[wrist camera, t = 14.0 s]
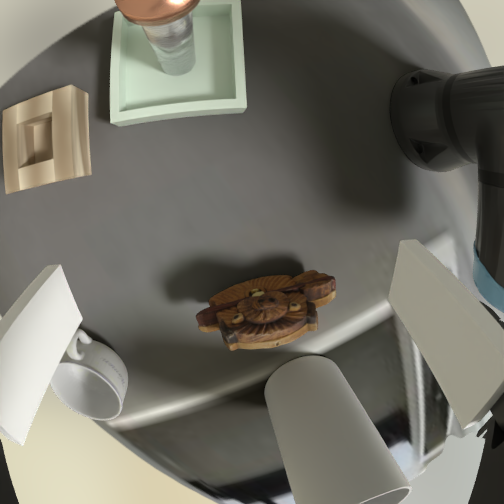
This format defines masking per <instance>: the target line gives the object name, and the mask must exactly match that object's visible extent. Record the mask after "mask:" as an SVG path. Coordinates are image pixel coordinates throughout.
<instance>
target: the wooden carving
mask: <svg viewBox="0 0 504 504" xmlns="http://www.w3.org/2000/svg"><path fill="white" fill-rule="evenodd" d="M335 297H336V282H335V278H334V277H332V276H328V275H327V274H325V273H321V274H319V273H318V272H317V271H315V270H310V271H307V272H304V273H302V274H300V275H298V276H296V277H294V278H292V277H291V276H289V275H274V276H266V277H260V278H257V279H252V280H249V281H246V282H243V283H239V284H236V285H234V286H231V287H229V288H227V289H225V290H223V291H221V292H219V293H218V294H216V295H214V296H213V297H211V298H210V300H209V301H208V302H209V305H210V307H209V308H206V309H204V310H202V311H200V312H199V313H198V314H197V315H196V319H197V321H198V323H199V326H198V327H199V330H201V331H203V332H212V331H217V330H220V331H221V333H222V337H223V340H224V343H225V345H226V346H227V348H228V349H229V350H236V349H238V348H242V349H261V348H273V347H278V346H280V345H283V344H287V343H290V342H292V341H294V340H296V339H297V338H299V337H301V336H302V335H304V334H305V333H306V332H307V331H315V330H317V329H318V315H317V311H316V308H318V307H321V306H323V305H326V304H328V303H329V302H330V301H331V300H332V299H334V298H335Z"/></svg>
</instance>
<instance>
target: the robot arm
mask: <svg viewBox="0 0 504 504" xmlns="http://www.w3.org/2000/svg"><path fill="white" fill-rule="evenodd" d="M390 114H391V121H392V126H393V130H394V133H395V136H396V138H397V140H398V143H399V145H400V146H401V148H402V150H403V151H404V153H405V154H406V155H407V157H408V158H409V159H410V160H411V161H412V162H413V163H415V164H416V165H417V166H419V167H421V168H423V169H425V170H429V171H436V172H447V171H451V170H454V169H456V168H459V167H462V166H465V165H468V164H471V163H475V164H478V213H477V229H476V239H475V241H474V247H473V250H474V264H473V279H474V282H475V284H476V286H477V288H478V290H479V292H480V294H481V295H482V296H483V297H484V298H485V299H486V300H487V301H488V302H489V303H490V304H491V305H492V306H494V307H495V308H497V309H498V310H500V311H502V312H503V313H504V66H498V67H491V68H485V69H480V70H474V71H469V72H464V73H459V74H450V73H445V72H439V71H434V70H427V69H423V70H417V71H414V72H410V73H408V74H406V75H404V76H403V77H401V78H400V79H399V80H398V82H397V83H396V85H395V87H394V89H393V92H392V96H391V103H390ZM388 301H389V303H390V304H391V306H392V307H393V309H394V310H395V312H396V313H397V315H398V316H399V318H400V319H401V321H402V323H403V324H404V326H405V327H406V329H407V331H408V332H409V334H410V335H411V337H412V339H413V340H414V342H415V344H416V345H417V347H418V349H419V350H420V352H421V354H422V355H423V357H424V359H425V360H426V362H427V364H428V366H429V367H430V369H431V371H432V373H433V374H434V376H435V378H436V380H437V381H438V383H439V385H440V387H441V389H442V391H443V392H444V394H445V396H446V398H447V400H448V402H449V404H450V406H451V408H452V410H453V412H454V414H455V416H456V418H457V420H458V422H459V424H460V426H461V428H462V430H464V429H466V428H468V427H470V426H472V425H474V424H476V423H477V422H479V421H481V419H482V418H483V417H484V416H485V415H486V414H487V413H488V411H489V410H491V412H492V414H493V416H492V417H491V418H490V419H489V420H488V421H487V422H486V423H485V425H484V426H483V427H482V428H481V429H480V430H479V431H478V433H477V437H479V436H480V435H481V434H482V433H483V432H484V431H485V430H486V429H487V432H486V433H485V435H484V436H483V438H485V444H484V449H483V453H482V458H481V462H480V466H479V470H478V474H477V477H476V481H475V484H474V487H473V491H472V494H471V497H470V500H469V502H468V504H504V322H503V321H502V322H501V319H500V318H499V316H498V315H497V314H496V313H495V312H494V311H493V310H492V309H491V308H490V307H488V306H487V305H485V304H484V303H482V302H481V301H478V300H477V299H476V297H475V296H474V295H473V294H472V293H471V292H470V291H469V290H468V289H467V288H466V287H465V286H464V285H463V284H462V283H461V282H460V281H459V280H458V279H457V278H456V277H455V276H454V275H453V274H452V273H451V272H450V271H449V270H448V269H447V268H446V267H445V266H444V265H443V264H442V263H441V262H440V261H439V260H438V259H437V258H436V257H435V256H434V255H433V254H432V253H431V252H429V251H428V250H427V249H426V248H425V247H424V246H423V245H422V244H421V243H420V242H419V241H417V240H416V239H414V240H400V244H399V250H398V255H397V260H396V265H395V270H394V275H393V279H392V284H391V288H390V292H389V296H388ZM82 319H83V318H82V316H81V314H80V312H79V310H78V307H77V305H76V303H75V300H74V298H73V296H72V293H71V291H70V288H69V286H68V283H67V281H66V278H65V275H64V273H63V270H62V267H61V265H47V266H46V267H45V268H44V269H43V271H42V272H41V273H40V274H39V275H38V276H37V277H36V278H35V279H34V281H33V282H32V283H31V284H30V285H29V286H28V287H27V289H26V290H25V291H24V292H23V293H22V294H21V296H20V297H19V298H18V299H17V300H16V302H15V303H14V304H13V305H12V307H11V308H10V309H9V310H8V312H7V313H6V314H5V315H4V317H3V318H2V319H1V321H0V432H1V433H2V434H3V435H4V436H5V437H6V438H7V439H8V440H10V441H12V442H15V443H17V444H20V445H22V446H23V445H24V442H25V440H26V437H27V434H28V432H29V429H30V427H31V424H32V422H33V419H34V416H35V414H36V412H37V409H38V407H39V405H40V403H41V400H42V398H43V396H44V393H45V391H46V389H47V387H48V385H49V383H50V381H51V378H52V376H53V374H54V372H55V370H56V368H57V366H58V364H59V362H60V360H61V358H62V356H63V354H64V352H65V350H66V348H67V347H68V345H69V343H70V341H71V339H72V337H73V335H74V334H75V332H76V330H77V328H78V326H79V325H80V323H81V321H82ZM0 504H19V502H18V499H17V497H16V493H15V490H14V487H13V485H12V481H11V478H10V474H9V471H8V467H7V463H6V459H5V455H4V450H3V446H2V442H1V440H0Z"/></svg>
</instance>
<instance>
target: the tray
mask: <svg viewBox="0 0 504 504" xmlns="http://www.w3.org/2000/svg"><path fill="white" fill-rule="evenodd" d="M192 16H193V30H194V43H195V55H196V62H195V65H194V67H193V68H192V69H191V70H190V71H189V72H188V73H186V74H184V75H181V76H171V75H168V74H167V73H165V72H164V71H163V70H162V68H161V66H160V64H159V62H158V60H157V58H156V55H155V53H154V51H153V49H152V47H151V45H150V43H149V41H148V39H147V37H146V35H145V33H144V30H143V28H142V26H140V25H136V24H133V23H131V22H129V21H128V20H127V19H126V18H125V17H124V16H123V15H122V13H121V12H120V11H118V12H115V15H114V24H113V35H112V49H111V68H110V123H111V124H114V125H117V126H119V127H121V126H126V125H132V124H138V123H144V122H151V121H158V120H166V119H174V118H183V117H193V116H204V115H217V114H235V113H243V112H244V111H245V109H246V108H247V101H246V83H245V66H244V48H243V31H242V15H241V0H200V2H199V3H198V5H197V6H196V7H195V8H194V9H193V10H192Z"/></svg>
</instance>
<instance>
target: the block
mask: <svg viewBox="0 0 504 504" xmlns="http://www.w3.org/2000/svg"><path fill="white" fill-rule="evenodd" d="M2 142H3V166H4V179H5V189H6V194H9V193H13V192H17V191H21V190H25V189H29V188H33V187H37V186H41V185H45V184H50V183H54V182H58V181H63V180H67V179H72V178H77V177H82V176H87V175H92V173H91V162H90V147H89V122H88V93H86V92H84V91H82V90H81V89H79V88H77V87H75V86H73V85H69V86H66V87H62V88H59V89H56V90H53V91H50V92H48V93H45V94H42V95H39V96H37V97H34V98H31V99H29V100H26V101H24V102H21V103H19V104H17V105H14V106H12V107H10V108H7V109H5V110H3V124H2Z"/></svg>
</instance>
